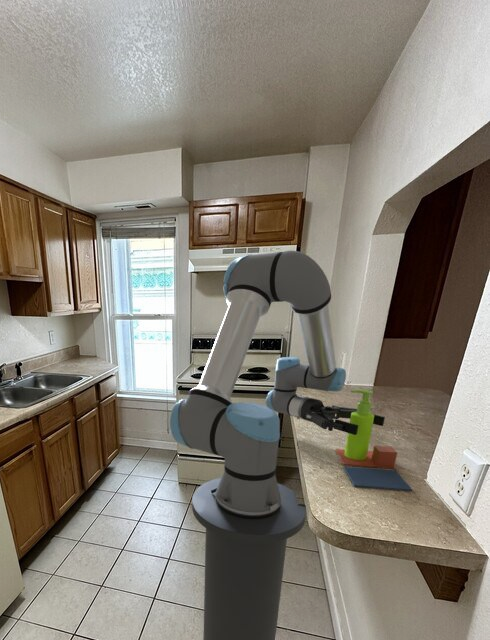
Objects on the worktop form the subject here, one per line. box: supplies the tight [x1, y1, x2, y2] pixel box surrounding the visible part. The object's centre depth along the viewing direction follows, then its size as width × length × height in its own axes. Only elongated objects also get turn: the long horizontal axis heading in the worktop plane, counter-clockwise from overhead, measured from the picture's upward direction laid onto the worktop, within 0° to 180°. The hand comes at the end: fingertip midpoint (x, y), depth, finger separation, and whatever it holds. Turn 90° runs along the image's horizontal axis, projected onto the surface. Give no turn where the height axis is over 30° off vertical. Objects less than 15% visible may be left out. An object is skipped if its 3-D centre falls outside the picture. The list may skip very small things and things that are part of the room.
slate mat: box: [343, 466, 413, 492], centre depth 93 cm, size 13×11×1 cm
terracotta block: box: [371, 445, 398, 467], centre depth 100 cm, size 4×4×4 cm
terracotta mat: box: [335, 448, 395, 470], centre depth 105 cm, size 13×11×1 cm
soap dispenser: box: [344, 388, 374, 460], centre depth 103 cm, size 6×7×20 cm
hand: (370, 425), depth 100 cm, fingers open, 12 cm apart
